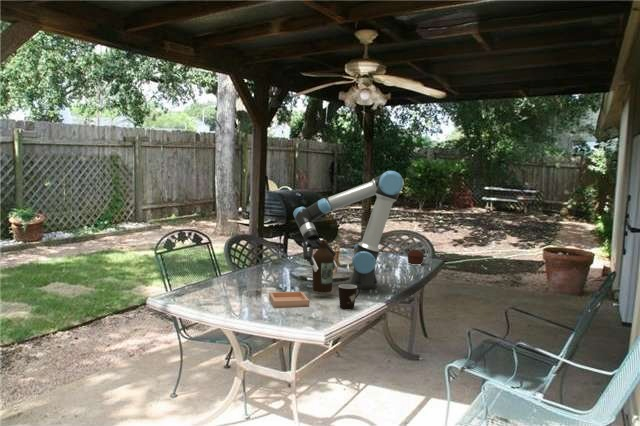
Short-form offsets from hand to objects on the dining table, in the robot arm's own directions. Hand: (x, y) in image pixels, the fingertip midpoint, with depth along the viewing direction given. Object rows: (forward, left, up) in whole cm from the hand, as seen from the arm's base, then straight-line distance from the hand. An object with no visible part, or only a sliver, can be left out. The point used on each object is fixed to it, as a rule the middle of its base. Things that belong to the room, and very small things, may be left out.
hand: (326, 269), depth 244 cm
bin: (+19, +5, -14) cm, 25 cm away
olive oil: (+1, -3, -11) cm, 12 cm away
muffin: (-83, -79, -15) cm, 115 cm away
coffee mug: (-7, +17, -15) cm, 24 cm away
